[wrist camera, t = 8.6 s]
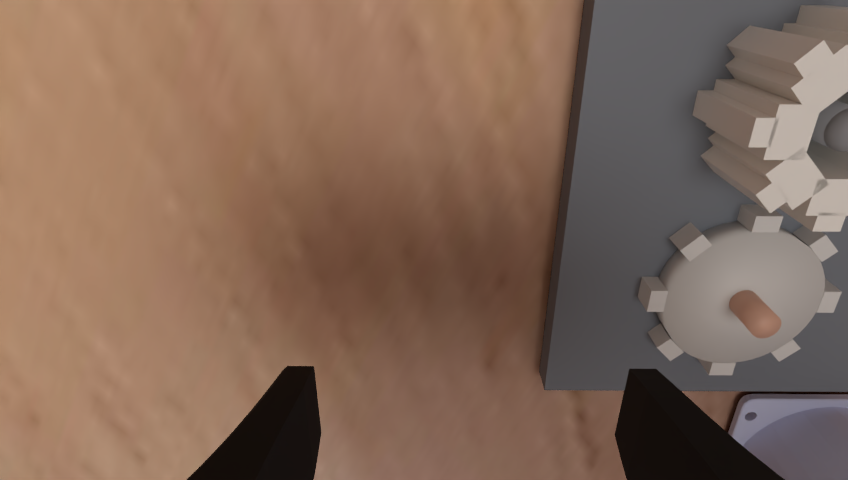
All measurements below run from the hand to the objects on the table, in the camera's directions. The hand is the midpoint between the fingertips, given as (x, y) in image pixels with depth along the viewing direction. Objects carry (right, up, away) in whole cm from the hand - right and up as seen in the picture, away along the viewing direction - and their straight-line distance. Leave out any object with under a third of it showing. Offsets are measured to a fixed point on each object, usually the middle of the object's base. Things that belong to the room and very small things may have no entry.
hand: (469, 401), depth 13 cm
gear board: (+11, +9, +6) cm, 15 cm away
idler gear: (+11, +8, +5) cm, 14 cm away
